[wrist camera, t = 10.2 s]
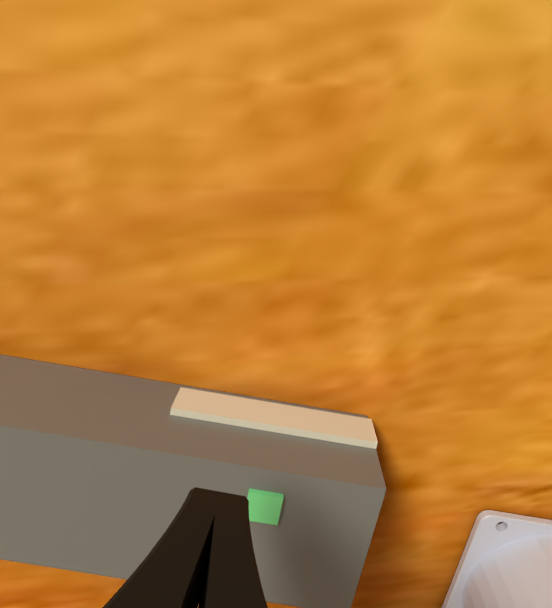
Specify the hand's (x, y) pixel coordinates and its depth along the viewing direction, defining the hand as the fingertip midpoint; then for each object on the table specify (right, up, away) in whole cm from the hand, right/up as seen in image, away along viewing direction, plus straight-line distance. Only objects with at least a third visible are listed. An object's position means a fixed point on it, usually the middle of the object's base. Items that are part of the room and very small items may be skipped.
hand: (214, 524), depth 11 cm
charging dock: (-5, -1, +10) cm, 11 cm away
